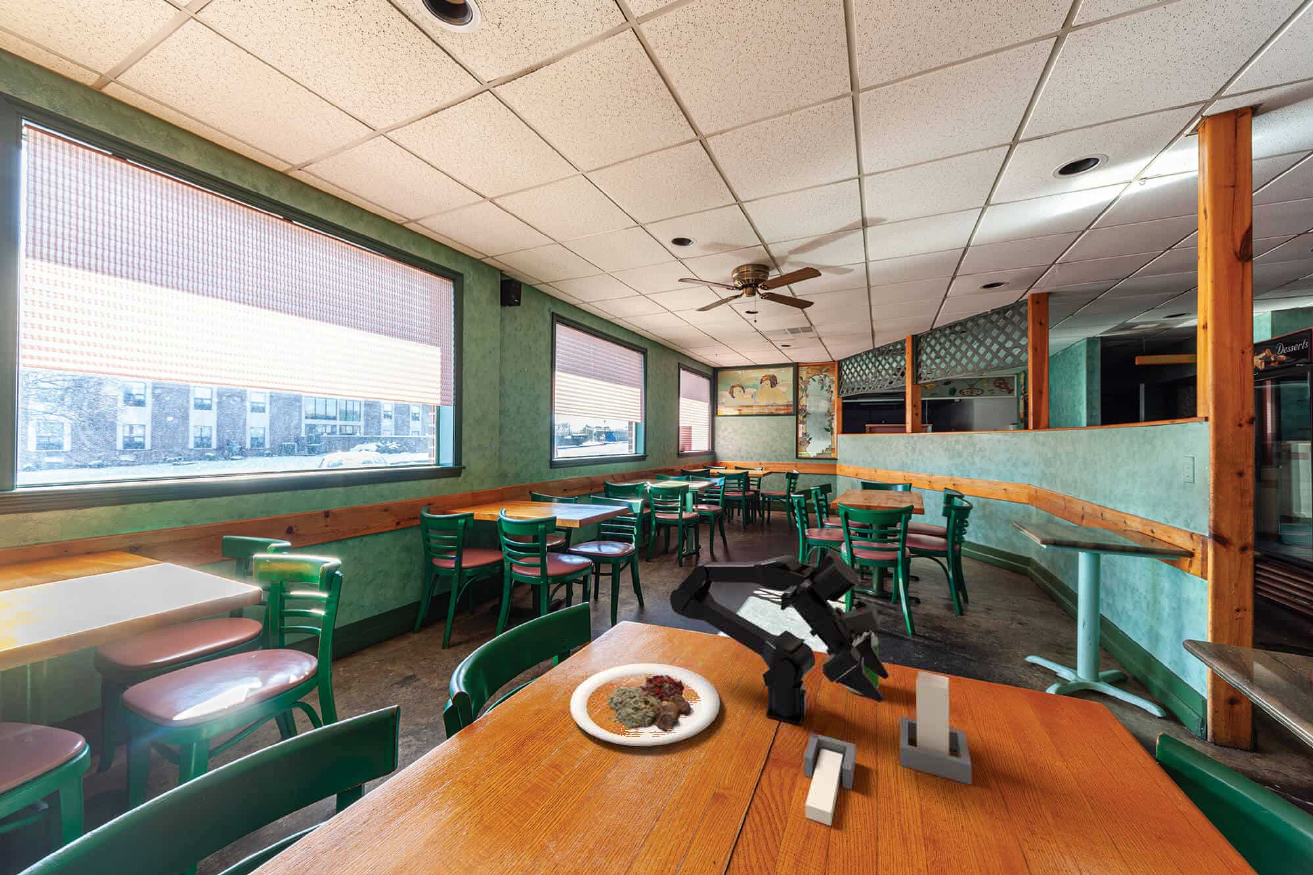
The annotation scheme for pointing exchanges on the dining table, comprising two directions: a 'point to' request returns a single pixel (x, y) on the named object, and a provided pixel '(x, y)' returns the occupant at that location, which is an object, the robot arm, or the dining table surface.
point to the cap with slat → (827, 774)
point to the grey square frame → (935, 754)
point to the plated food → (649, 704)
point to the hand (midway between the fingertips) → (884, 688)
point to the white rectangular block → (932, 712)
